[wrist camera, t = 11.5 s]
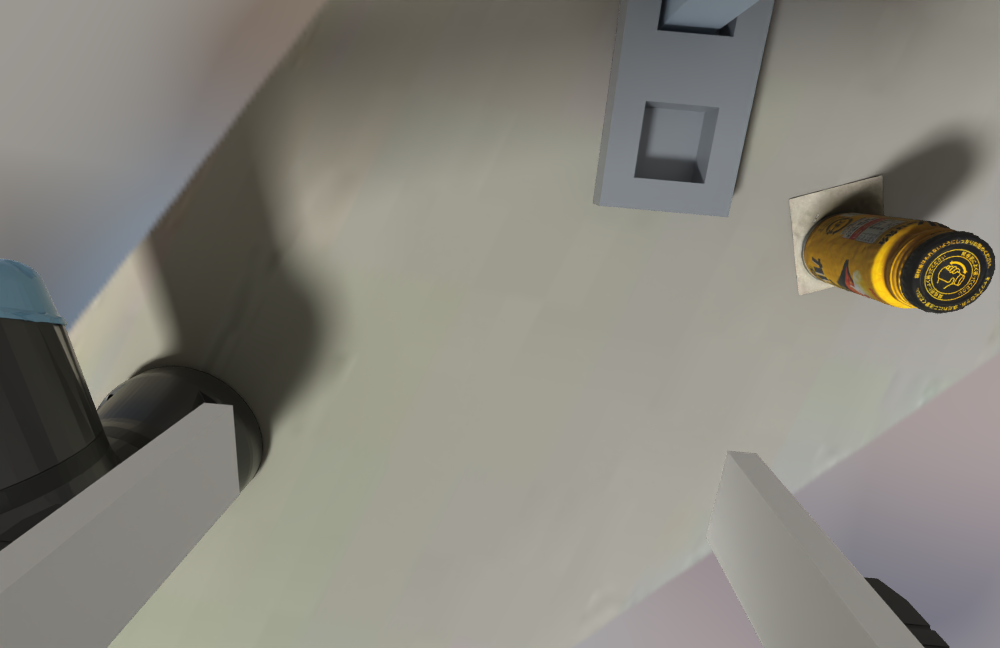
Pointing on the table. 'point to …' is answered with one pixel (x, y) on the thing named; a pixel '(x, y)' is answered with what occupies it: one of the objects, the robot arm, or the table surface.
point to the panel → (678, 111)
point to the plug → (699, 14)
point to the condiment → (885, 251)
